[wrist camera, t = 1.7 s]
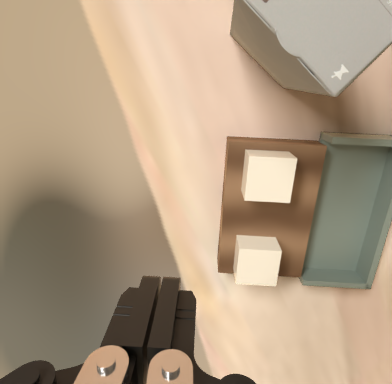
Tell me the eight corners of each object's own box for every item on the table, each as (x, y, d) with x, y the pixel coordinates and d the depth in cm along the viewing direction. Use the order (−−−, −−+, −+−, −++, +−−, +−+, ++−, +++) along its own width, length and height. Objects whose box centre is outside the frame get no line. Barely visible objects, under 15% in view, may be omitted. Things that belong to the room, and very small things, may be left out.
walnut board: (227, 136, 33) (229, 141, 30) (316, 140, 33) (327, 146, 30) (217, 258, 38) (218, 272, 36) (293, 262, 38) (300, 277, 35)
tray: (321, 131, 32) (332, 136, 29) (396, 135, 32) (415, 140, 29) (295, 269, 39) (302, 285, 36) (357, 273, 38) (370, 289, 35)
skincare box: (330, 40, 29) (457, -5, 14) (277, 95, 31) (340, 107, 16) (272, -28, 27) (349, -157, 13) (219, 36, 29) (232, -12, 15)
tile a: (245, 149, 30) (249, 156, 28) (288, 151, 30) (297, 158, 27) (241, 190, 32) (244, 200, 29) (282, 192, 32) (290, 203, 29)
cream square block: (236, 235, 34) (239, 248, 31) (275, 237, 34) (282, 251, 31) (233, 267, 35) (235, 283, 33) (270, 270, 35) (276, 286, 32)
